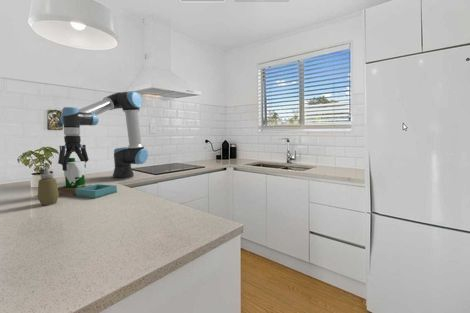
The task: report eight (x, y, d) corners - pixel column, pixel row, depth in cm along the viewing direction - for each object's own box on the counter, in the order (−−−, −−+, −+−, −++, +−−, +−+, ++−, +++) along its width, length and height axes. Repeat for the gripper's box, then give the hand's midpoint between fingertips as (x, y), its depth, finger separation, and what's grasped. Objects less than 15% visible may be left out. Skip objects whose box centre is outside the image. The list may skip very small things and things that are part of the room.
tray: (98, 190, 141) (97, 183, 141) (116, 192, 137) (116, 185, 136) (76, 196, 128) (75, 189, 128) (95, 198, 123) (95, 191, 123)
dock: (76, 190, 143) (76, 183, 142) (92, 191, 139) (91, 184, 138) (57, 194, 132) (56, 187, 132) (73, 196, 128) (73, 189, 128)
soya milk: (76, 190, 141) (73, 157, 139) (89, 191, 139) (86, 157, 137) (62, 194, 133) (60, 159, 131) (76, 195, 131) (73, 159, 129)
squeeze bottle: (58, 200, 120) (55, 165, 119) (60, 203, 115) (58, 166, 113) (37, 203, 115) (34, 167, 113) (39, 207, 109) (36, 168, 107)
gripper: (84, 135, 144) (87, 171, 146) (47, 135, 124) (50, 177, 126) (94, 135, 142) (96, 172, 144) (57, 135, 122) (60, 178, 124)
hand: (75, 174), depth 135 cm, fingers closed on soya milk, 9 cm apart
